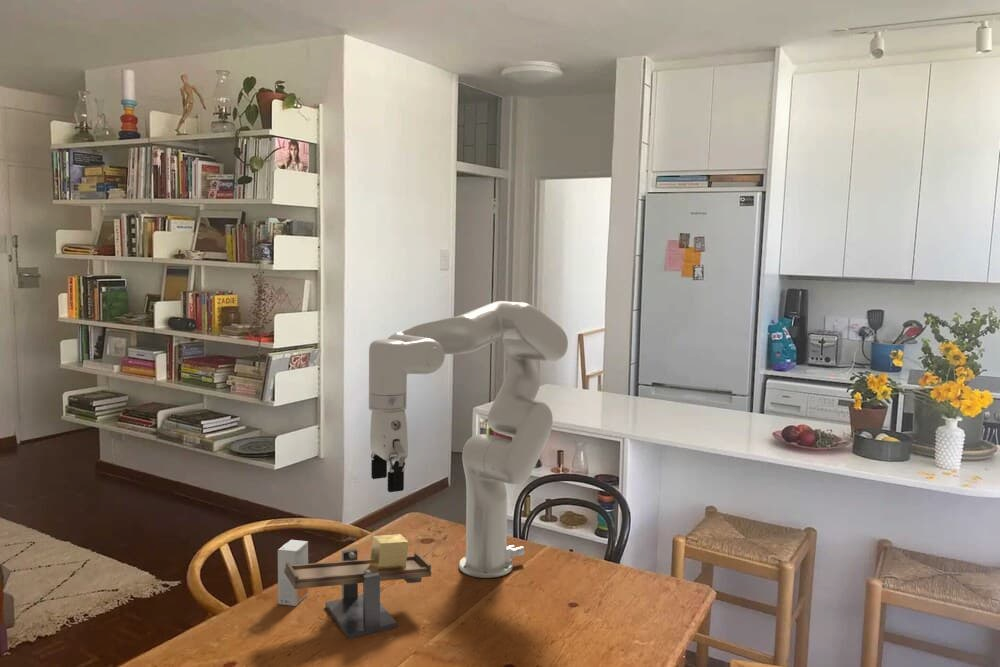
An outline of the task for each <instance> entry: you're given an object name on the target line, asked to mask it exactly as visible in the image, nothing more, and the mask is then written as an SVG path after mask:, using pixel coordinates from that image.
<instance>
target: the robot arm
mask: <svg viewBox="0 0 1000 667" xmlns="http://www.w3.org/2000/svg"><path fill="white" fill-rule="evenodd" d="M500 340H502V345H503V349H504V352H505V356H506V362H507V363H506V364H507V371H506V375H505V377H504V380H503V382H502V385H501V387H500V389H499V391H498V392H497V395H496V396H495V399H494V400H493V402H492V405H491V406H490V409H489V412H488V414H487V425H488V426H489V428H490V429H491V431H493V432H495V433H497V434H500V435H503V436H507V437H511V438H513V439H512V440H511V439H508V438H505V437H501V436H497V435H493V434H486V433H485V434H483V433H482V434H481V433H479V434H475V435H473V436H471V437H470V438H468V439H467V441H466V442H465V444H464V446H463V448H462V454H461V458H462V460H461V461H462V465H463V472H464V475H465V485H466V486H465V487H466V488H465V489H466V490H465V491H466V494H465V495H466V501H465V502H466V504H465V505H466V510H465V512H466V513H465V518H466V519H465V556H463V557H462V558H461V559H460V560H459V564H458V566H459V570H460V571H461V572H462V573H463V574H466V575H467V576H470V577H475V578H483V579H493V578H498V577H501V576H502V577H503V576H505V575H507V574H509V573H510V572H512V570H513V569H514V563H513V560H512V559H514V558H515V557H516V556H517V557H518V556H523V555H525V553H526V550H525V547H524V546H517V547H515V545H514V544H512V545H507V543H508V542H507V540H508V539H507V538H508V537H507V536H508V529H507V528H508V491H507V490H508V489H507V486H506V484H509V485H517V486H518V485H521V484H523V483H524V482H526V481H527V480H528V479H529V478H530V476H531V474H532V473H533V471H534V470H535V467H536V465H537V463H538V460H539V459H540V457H541V454H542V452H543V450H544V448H545V446H546V444H547V442H548V439H549V437H550V434H551V431H552V430H553V428H552V427H553V420H554V419H553V413H552V410H551V408H550V407H549V405H548V404H547V403H546V402H544V401H541V400H538V399H536V398H537V394H538V393H539V391H540V387H541V377H540V376H541V375H540V372H539V369H538V366H537V363H536V361H543V362H549V363H550V362H551V363H552V362H557V361H559V360H561V359H562V358H564V356H565V354H566V353H567V351H568V346H569V340H568V336H567V334H566V332H565V330H564V329H563V328H562V327H561V326H560V325H559V324H558V323H556V322H555V321H554V320H553V319H552V318H550V317H549V316H548V315H546V313H544V312H543V311H542V310H540V308H539V309H538V308H537V307H536V306H534V305H531V304H530V303H526V302H519V301H518V302H516V301H506V300H505V301H504V300H499V301H493V302H490V303H488V304H485V305H483V306H480V307H478V308H474V309H473V310H470V311H467V312H465V313H462V314H460V315H457V316H452V317H446V318H442V319H439V320H434V321H430V322H423V323H420V324H417V325H414V326H410V327H408V328H405V329H402V330H399V331H397V332H394V333H393V334H391V335H390V336H389V337H388V338H386V339H385V338H384V339H377V340H373V341H372V342H371V343H370V344H369V348H368V410H370V411H371V417H370V434H369V438H370V440H369V441H370V449H371V454H370V458H371V479H373V480H377V479H385V478H387V491H388V493H393V492H403V491H404V490H405V489H404V488H405V483H404V482H405V465H406V459H407V458H408V456H409V442H408V441H409V440H408V437H409V436H408V424H407V414H406V410H407V403H408V402H407V389H408V388H407V386H408V384H407V383H408V382H407V381H408V380H407V379H408V377H407V376H408V375H430V374H432V373H436V372H437V371H438V370H439V369H440V368H441V367H442V366H443V364H444V362H445V357H446V356H445V355H462V354H470V353H473V352H475V351H478V350H481V349H482V348H484V347H486V346H488V345H491V344H492V343H495V342H497V341H500ZM393 462H394V463H393ZM388 470H389V471H388Z"/></svg>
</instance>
